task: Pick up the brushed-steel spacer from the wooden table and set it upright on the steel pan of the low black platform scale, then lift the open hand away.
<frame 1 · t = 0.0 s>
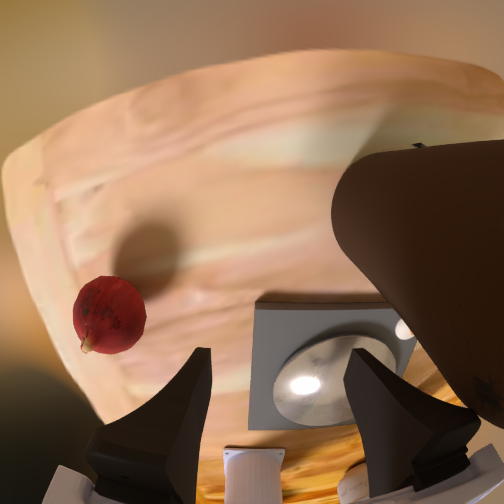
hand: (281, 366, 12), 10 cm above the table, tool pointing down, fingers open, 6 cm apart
scale pan: (336, 386, 23), point 2 cm above the table, slide at 0.1 cm
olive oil: (384, 211, 20), on the table, touching gripper
teacup: (360, 471, 34), on the table
scale base: (331, 372, 25), on the table
onion: (127, 292, 22), on the table
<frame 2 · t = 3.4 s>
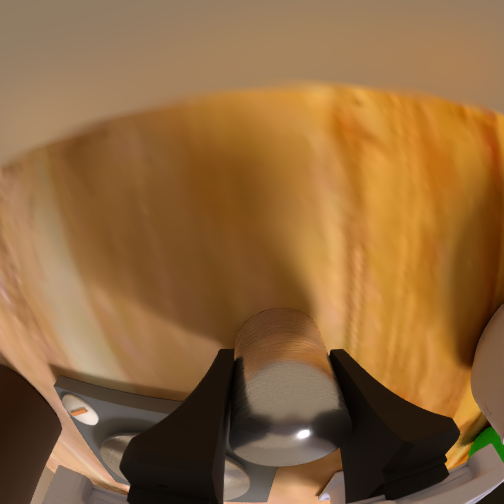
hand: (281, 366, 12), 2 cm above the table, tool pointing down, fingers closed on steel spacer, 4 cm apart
scale pan: (173, 475, 16), point 2 cm above the table, slide at 0.1 cm
ornament: (481, 431, 20), on the table
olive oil: (25, 399, 17), on the table
scale base: (176, 456, 18), on the table
steel spacer: (278, 345, 14), on the table, touching gripper
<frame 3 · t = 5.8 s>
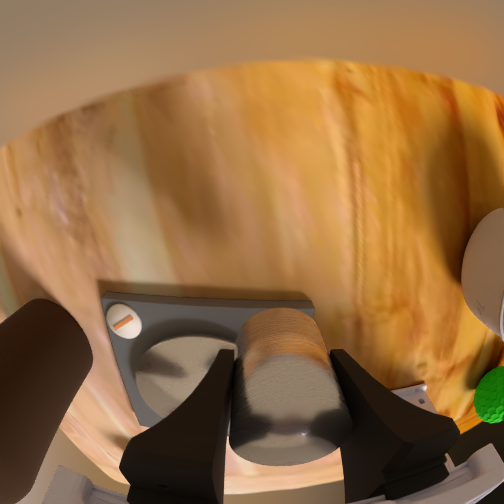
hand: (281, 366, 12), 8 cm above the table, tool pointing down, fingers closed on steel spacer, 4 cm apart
scale pan: (205, 392, 21), point 2 cm above the table, slide at 0.1 cm
ornament: (484, 376, 25), on the table
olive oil: (57, 337, 22), on the table
teacup: (490, 255, 20), on the table
scale base: (208, 376, 23), on the table
steel spacer: (278, 344, 14), point 7 cm above the table, touching gripper
when the fingers open (6 cm above the table, at t = 8.3 s): steel spacer drops 2 cm, resting on scale pan.
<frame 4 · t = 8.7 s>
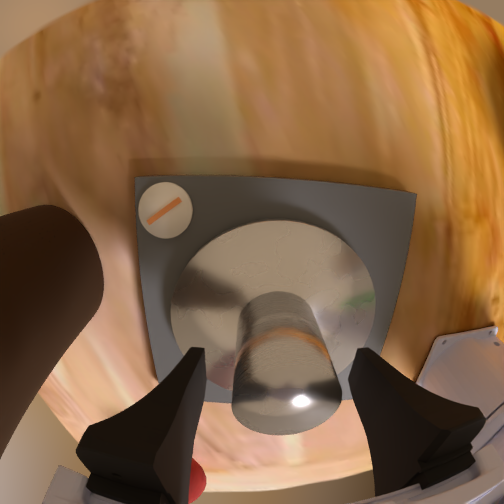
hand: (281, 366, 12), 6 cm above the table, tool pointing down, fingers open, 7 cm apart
scale pan: (275, 323, 16), point 2 cm above the table, slide at 0.3 cm, touching steel spacer
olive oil: (55, 265, 17), on the table
scale base: (273, 307, 18), on the table
onion: (182, 450, 23), on the table
steel spacer: (276, 326, 15), point 2 cm above the table, touching scale pan
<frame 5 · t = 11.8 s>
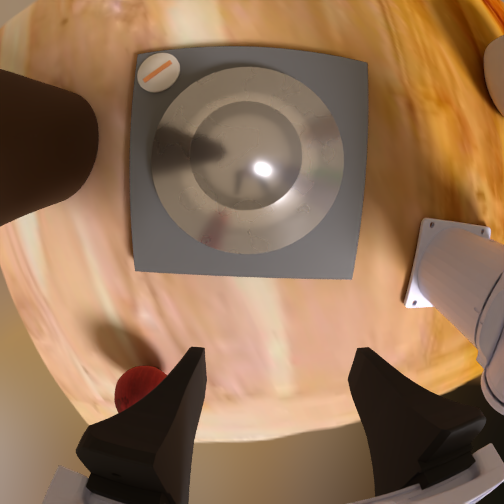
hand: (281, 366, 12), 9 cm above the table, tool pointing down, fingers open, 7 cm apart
scale pan: (247, 158, 16), point 2 cm above the table, slide at 0.3 cm, touching steel spacer
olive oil: (56, 145, 17), on the table
scale base: (247, 159, 18), on the table
onion: (157, 370, 24), on the table
steel spacer: (247, 157, 16), point 2 cm above the table, touching scale pan
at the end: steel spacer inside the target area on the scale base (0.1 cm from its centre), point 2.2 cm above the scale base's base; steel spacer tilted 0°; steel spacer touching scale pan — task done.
